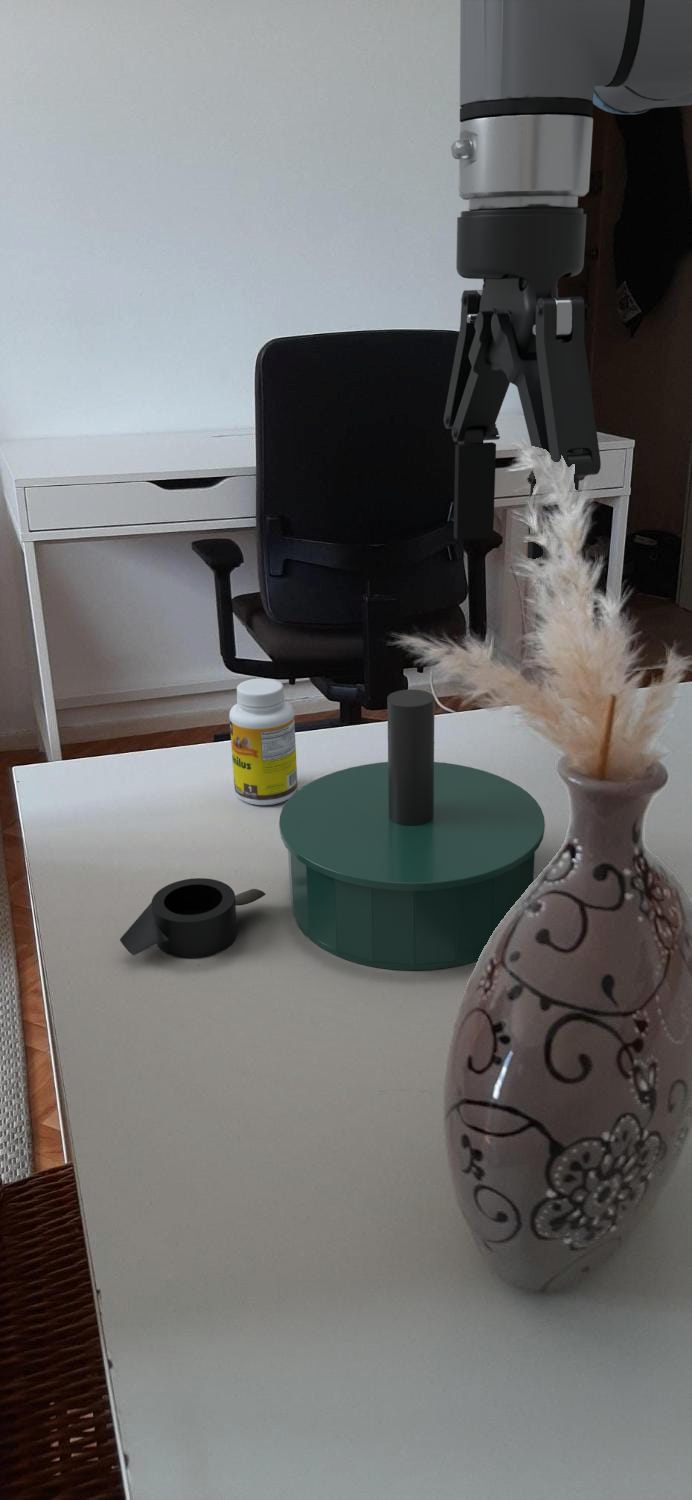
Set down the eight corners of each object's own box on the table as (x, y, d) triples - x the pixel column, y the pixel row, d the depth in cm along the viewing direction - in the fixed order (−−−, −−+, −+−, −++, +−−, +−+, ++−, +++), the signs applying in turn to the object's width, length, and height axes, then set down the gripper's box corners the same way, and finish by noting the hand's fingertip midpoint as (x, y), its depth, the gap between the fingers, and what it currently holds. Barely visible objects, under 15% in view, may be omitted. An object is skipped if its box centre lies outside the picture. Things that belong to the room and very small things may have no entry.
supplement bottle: (226, 787, 103) (218, 680, 99) (284, 775, 105) (279, 670, 101) (246, 813, 98) (239, 702, 94) (307, 800, 100) (302, 690, 96)
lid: (547, 781, 89) (553, 657, 85) (540, 909, 72) (547, 762, 68) (310, 768, 92) (305, 647, 88) (250, 888, 75) (240, 745, 71)
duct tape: (268, 961, 78) (265, 924, 77) (119, 971, 77) (115, 934, 76) (266, 901, 85) (264, 867, 84) (130, 910, 84) (126, 875, 83)
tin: (535, 851, 91) (539, 777, 88) (527, 981, 75) (531, 895, 72) (318, 836, 94) (315, 764, 91) (266, 958, 78) (261, 876, 76)
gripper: (400, 211, 77) (400, 524, 86) (546, 197, 55) (526, 620, 64) (505, 209, 79) (494, 516, 88) (687, 195, 57) (650, 608, 65)
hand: (508, 561), depth 76 cm, fingers open, 13 cm apart
